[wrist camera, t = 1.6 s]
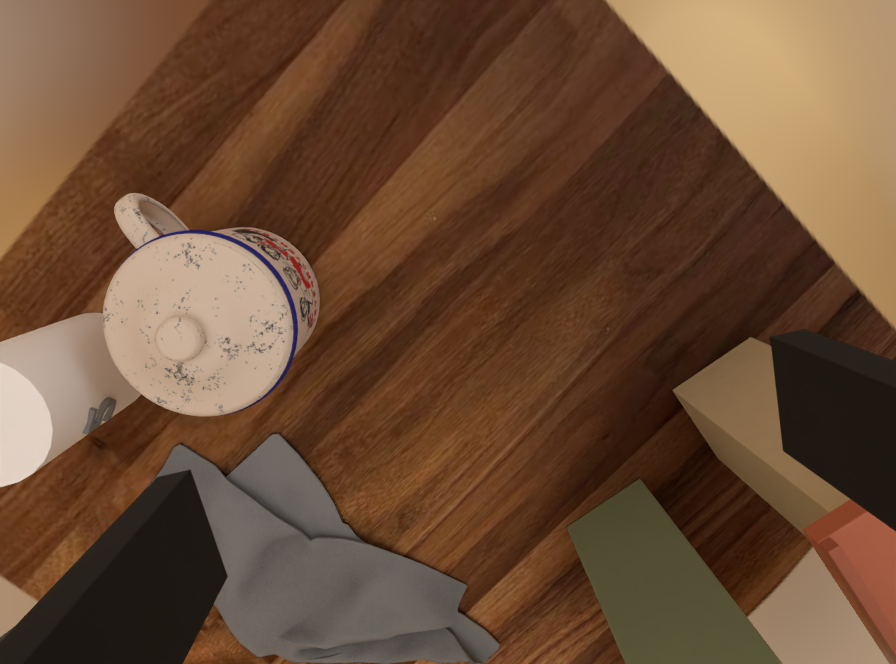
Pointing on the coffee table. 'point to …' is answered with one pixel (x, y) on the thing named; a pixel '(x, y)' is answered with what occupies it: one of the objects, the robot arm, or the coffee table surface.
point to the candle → (55, 392)
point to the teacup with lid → (205, 311)
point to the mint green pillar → (660, 588)
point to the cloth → (320, 572)
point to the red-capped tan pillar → (794, 482)
